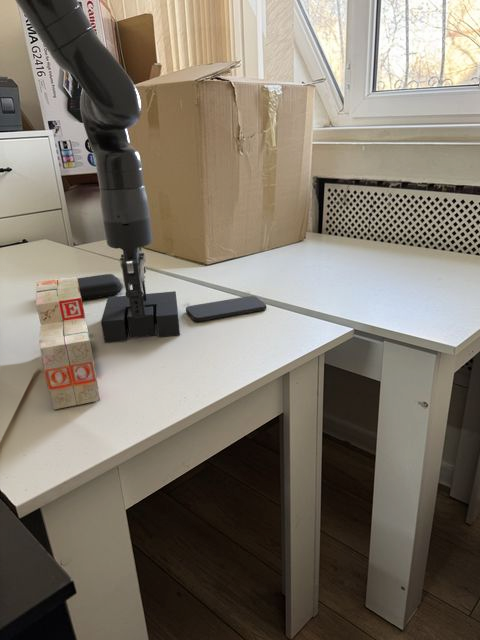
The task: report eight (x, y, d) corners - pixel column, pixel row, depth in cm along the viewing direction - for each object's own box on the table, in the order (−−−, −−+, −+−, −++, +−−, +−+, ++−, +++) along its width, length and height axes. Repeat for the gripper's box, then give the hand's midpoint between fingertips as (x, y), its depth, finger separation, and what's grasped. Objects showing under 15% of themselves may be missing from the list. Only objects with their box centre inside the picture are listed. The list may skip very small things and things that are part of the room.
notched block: (104, 342, 88) (100, 321, 86) (111, 316, 100) (107, 297, 98) (179, 335, 90) (177, 314, 88) (177, 310, 102) (175, 291, 100)
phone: (268, 306, 100) (195, 318, 94) (268, 309, 100) (195, 322, 95) (253, 295, 106) (184, 306, 100) (253, 298, 106) (184, 310, 101)
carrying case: (116, 282, 120) (50, 292, 115) (114, 269, 119) (48, 279, 114) (125, 295, 111) (54, 306, 106) (123, 281, 110) (51, 292, 105)
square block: (130, 338, 90) (127, 317, 88) (131, 328, 94) (128, 308, 92) (155, 335, 90) (152, 314, 89) (155, 326, 94) (153, 306, 93)
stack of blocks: (101, 401, 70) (85, 318, 65) (53, 411, 68) (32, 326, 63) (90, 343, 88) (77, 275, 83) (52, 350, 86) (36, 280, 81)
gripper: (107, 209, 89) (121, 298, 96) (98, 225, 76) (114, 326, 83) (150, 207, 90) (161, 294, 97) (148, 222, 77) (161, 321, 84)
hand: (139, 308), depth 90 cm, fingers open, 8 cm apart
